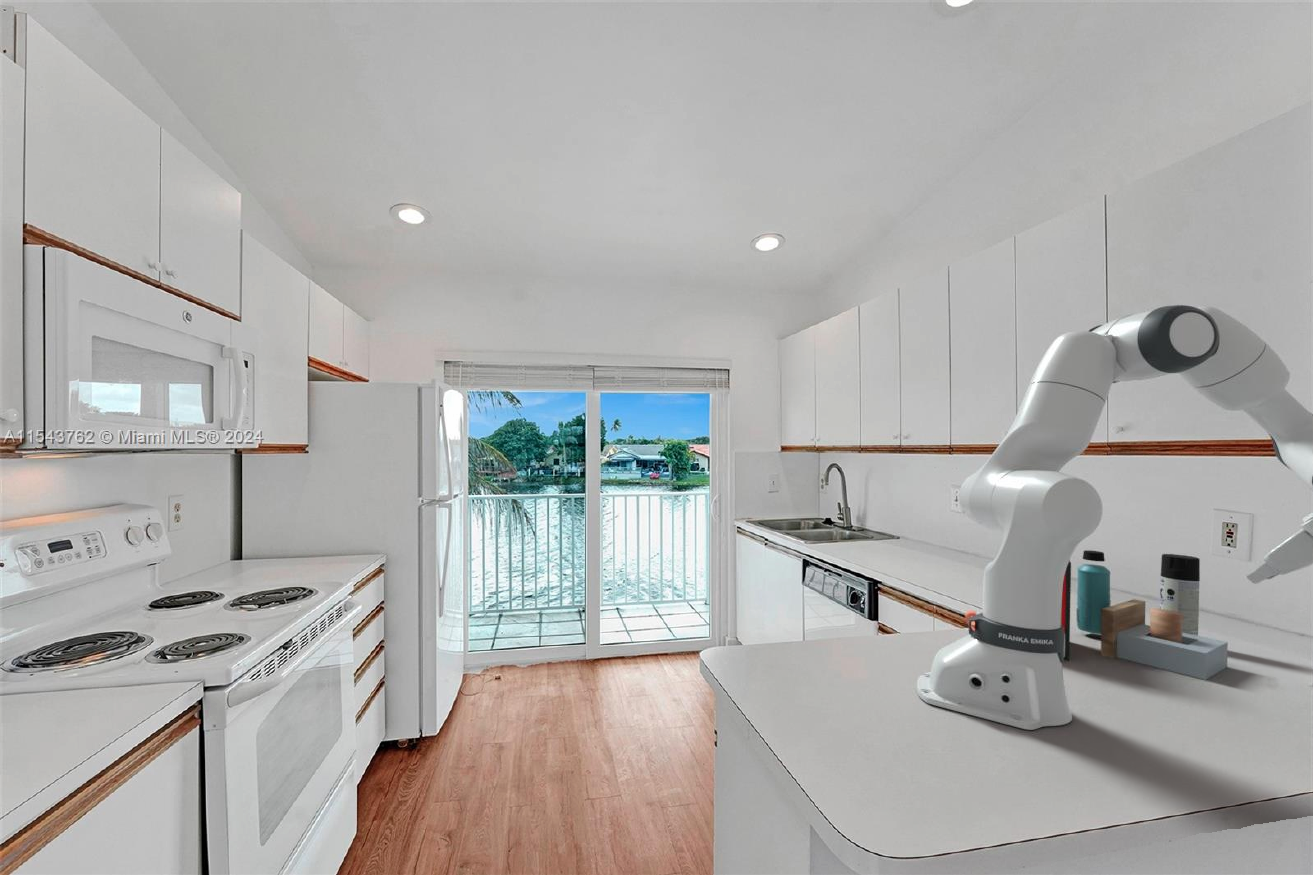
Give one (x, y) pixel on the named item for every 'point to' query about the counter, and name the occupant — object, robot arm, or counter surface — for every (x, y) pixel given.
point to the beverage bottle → (1092, 593)
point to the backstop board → (1119, 623)
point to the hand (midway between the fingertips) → (1257, 578)
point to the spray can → (1181, 589)
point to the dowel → (1166, 625)
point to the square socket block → (1173, 652)
